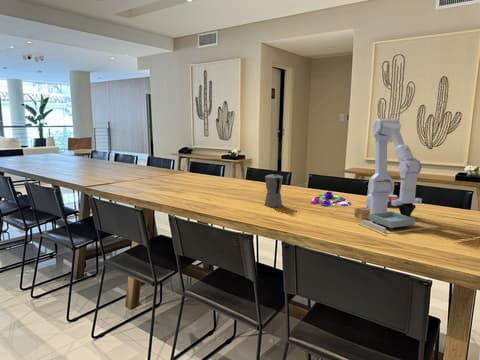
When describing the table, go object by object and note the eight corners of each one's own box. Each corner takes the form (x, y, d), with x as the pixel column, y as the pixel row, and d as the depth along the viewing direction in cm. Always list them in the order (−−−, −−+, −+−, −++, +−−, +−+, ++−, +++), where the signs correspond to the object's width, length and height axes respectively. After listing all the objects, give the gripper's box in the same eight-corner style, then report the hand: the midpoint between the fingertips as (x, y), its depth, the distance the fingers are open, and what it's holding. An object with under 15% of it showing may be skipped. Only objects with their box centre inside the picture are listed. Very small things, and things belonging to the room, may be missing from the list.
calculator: (378, 200, 175) (375, 192, 189) (377, 208, 176) (375, 200, 190) (401, 201, 172) (397, 194, 186) (401, 210, 173) (396, 201, 187)
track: (358, 224, 144) (358, 218, 144) (408, 218, 154) (408, 212, 154) (386, 236, 130) (387, 229, 129) (440, 228, 140) (440, 222, 139)
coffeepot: (261, 202, 182) (262, 169, 179) (278, 202, 184) (279, 168, 180) (268, 209, 167) (269, 173, 164) (287, 209, 169) (288, 173, 165)
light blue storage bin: (368, 223, 144) (368, 213, 143) (390, 220, 148) (391, 211, 147) (390, 231, 133) (391, 221, 132) (414, 228, 137) (415, 218, 136)
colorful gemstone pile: (338, 210, 170) (338, 201, 169) (303, 203, 184) (303, 195, 183) (359, 201, 188) (360, 193, 187) (326, 196, 202) (326, 188, 201)
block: (354, 218, 154) (355, 207, 153) (362, 217, 155) (363, 206, 154) (361, 221, 150) (361, 210, 149) (369, 220, 151) (370, 209, 150)
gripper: (402, 192, 134) (399, 225, 137) (429, 189, 139) (425, 221, 142) (388, 188, 141) (385, 220, 143) (414, 186, 146) (411, 217, 148)
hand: (404, 221), depth 143 cm, fingers closed
